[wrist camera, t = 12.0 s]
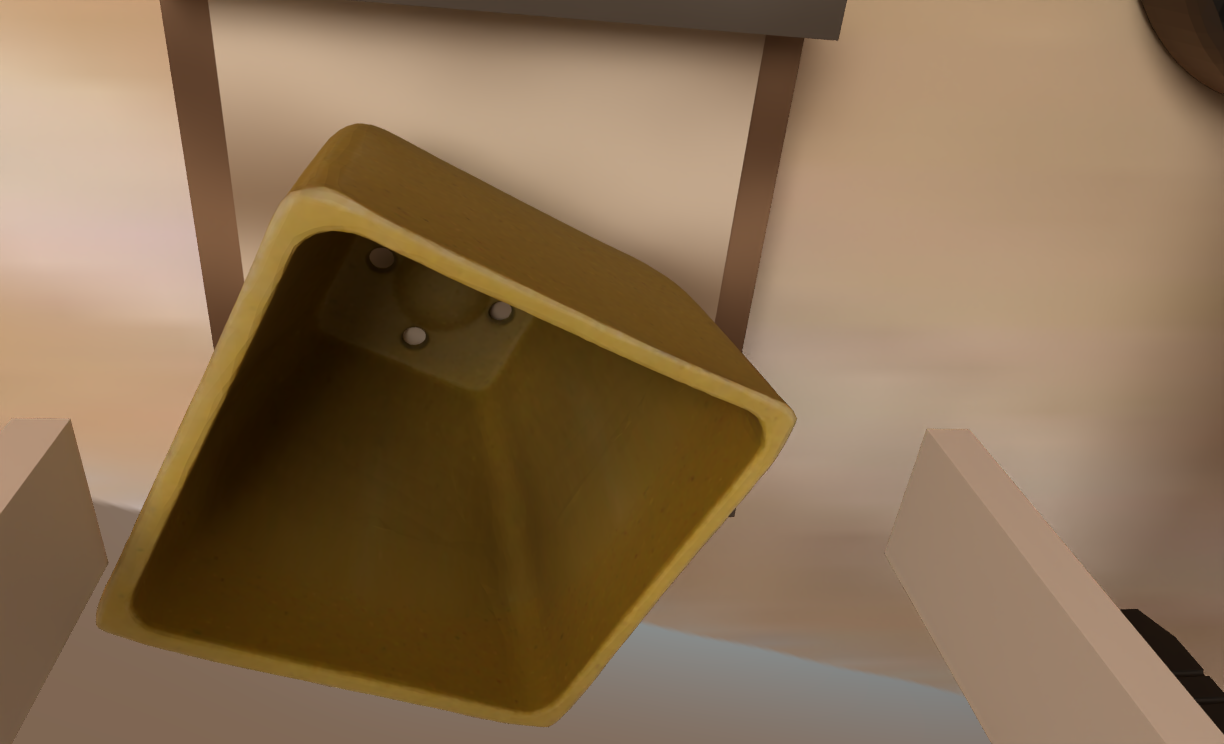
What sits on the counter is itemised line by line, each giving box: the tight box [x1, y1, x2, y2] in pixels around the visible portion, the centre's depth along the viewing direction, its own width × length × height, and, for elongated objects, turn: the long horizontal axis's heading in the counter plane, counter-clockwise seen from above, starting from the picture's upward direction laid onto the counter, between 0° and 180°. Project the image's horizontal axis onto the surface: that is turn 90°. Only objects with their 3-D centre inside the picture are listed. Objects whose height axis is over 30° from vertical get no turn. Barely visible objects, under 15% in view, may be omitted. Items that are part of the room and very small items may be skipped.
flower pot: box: [96, 123, 797, 727], centre depth 18 cm, size 9×9×9 cm
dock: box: [160, 0, 847, 517], centre depth 20 cm, size 22×14×5 cm, turn 174°
